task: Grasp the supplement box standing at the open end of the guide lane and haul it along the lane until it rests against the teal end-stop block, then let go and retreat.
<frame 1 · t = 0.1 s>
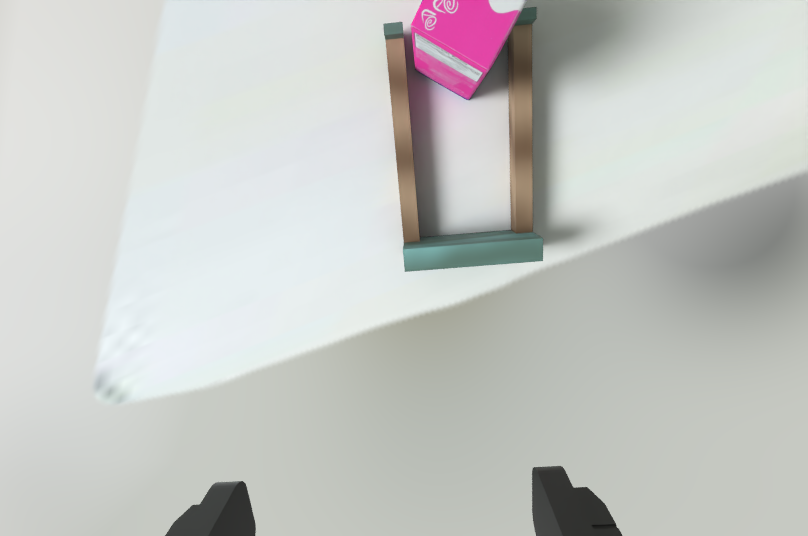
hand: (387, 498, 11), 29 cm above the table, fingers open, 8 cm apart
guide lane: (461, 149, 36), on the table
supplement box: (456, 55, 34), on the table
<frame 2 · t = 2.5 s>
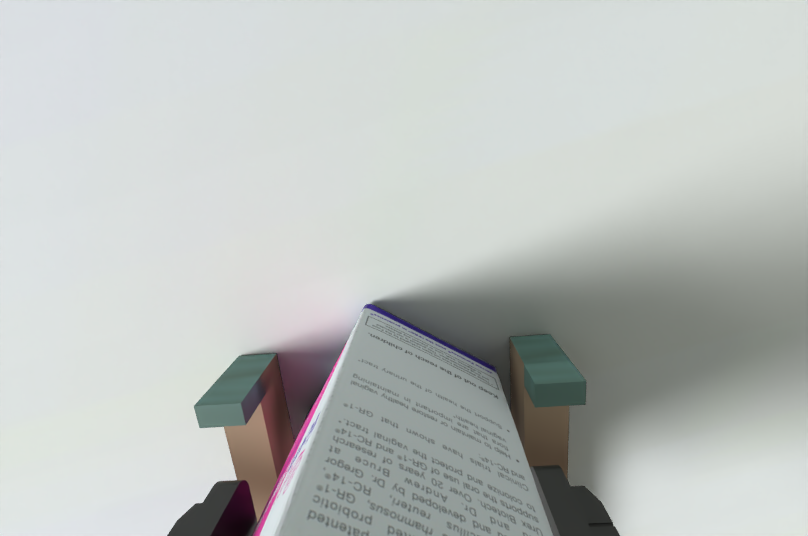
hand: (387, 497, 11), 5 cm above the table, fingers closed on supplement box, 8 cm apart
supplement box: (396, 387, 16), on the table, touching gripper
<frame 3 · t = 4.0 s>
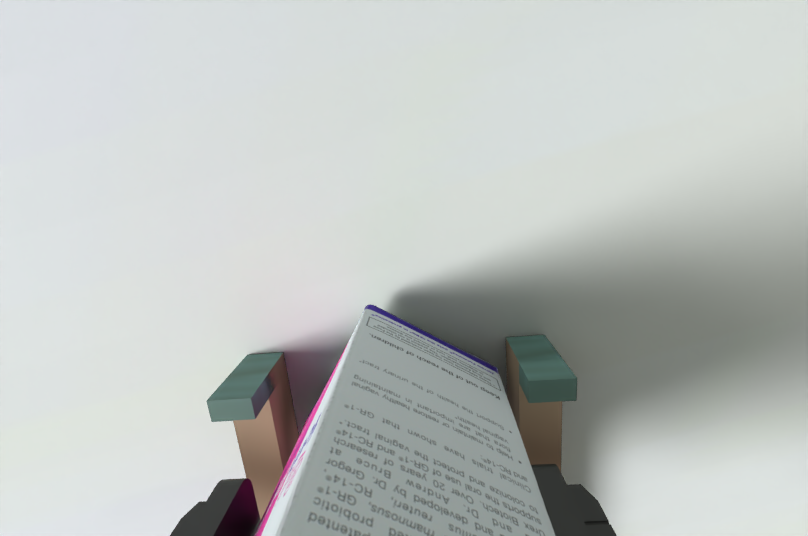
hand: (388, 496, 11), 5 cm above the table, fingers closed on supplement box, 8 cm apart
supplement box: (397, 388, 15), on the table, touching gripper
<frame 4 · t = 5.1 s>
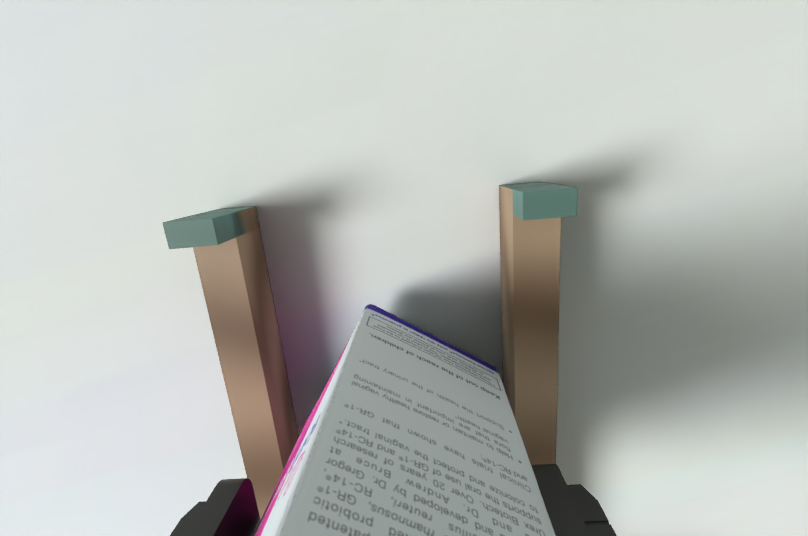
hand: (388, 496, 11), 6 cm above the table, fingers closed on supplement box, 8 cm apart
guide lane: (399, 428, 17), on the table
supplement box: (397, 388, 15), point 1 cm above the table, touching gripper
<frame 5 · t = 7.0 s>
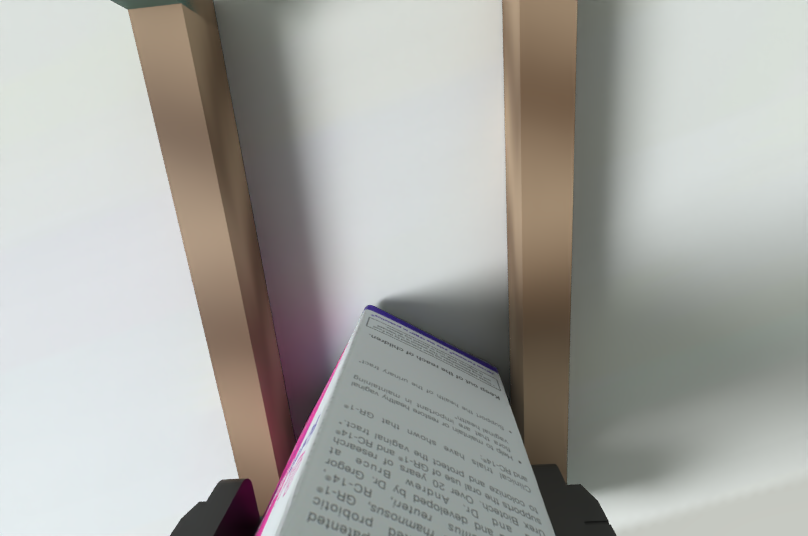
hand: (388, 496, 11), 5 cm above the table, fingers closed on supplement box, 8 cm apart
guide lane: (386, 291, 14), on the table
supplement box: (397, 388, 15), on the table, touching gripper
when the fingers open (5 cm above the table, at t = 7.8 s): supplement box stays where it is, on the table.
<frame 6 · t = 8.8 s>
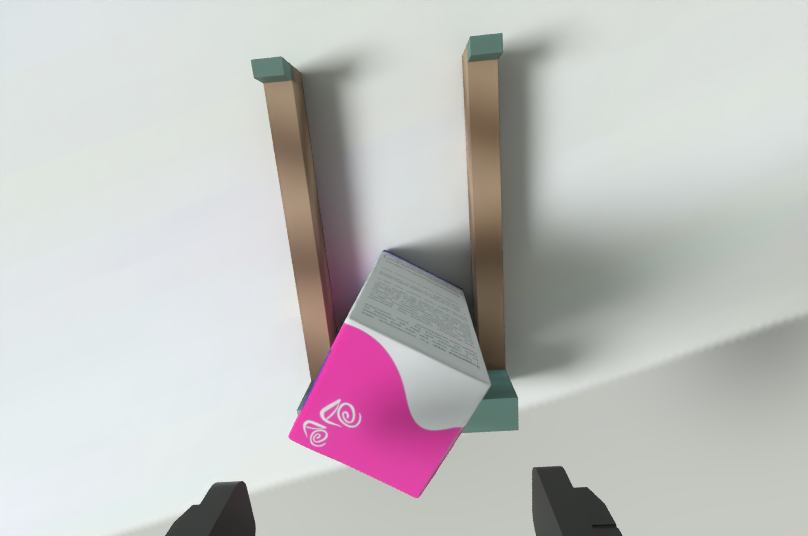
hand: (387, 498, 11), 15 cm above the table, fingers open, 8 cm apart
guide lane: (396, 242, 24), on the table
supplement box: (402, 305, 25), on the table
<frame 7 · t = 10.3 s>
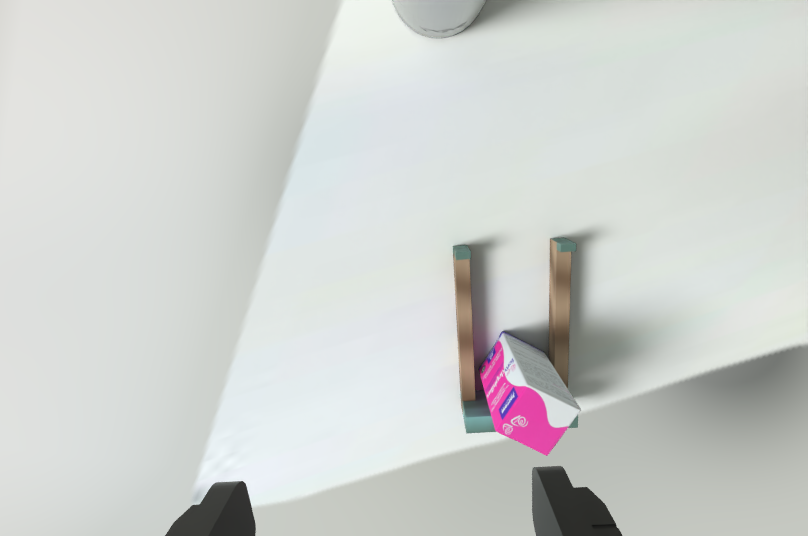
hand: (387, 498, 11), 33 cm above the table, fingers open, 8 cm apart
guide lane: (509, 327, 44), on the table
supplement box: (509, 359, 46), on the table
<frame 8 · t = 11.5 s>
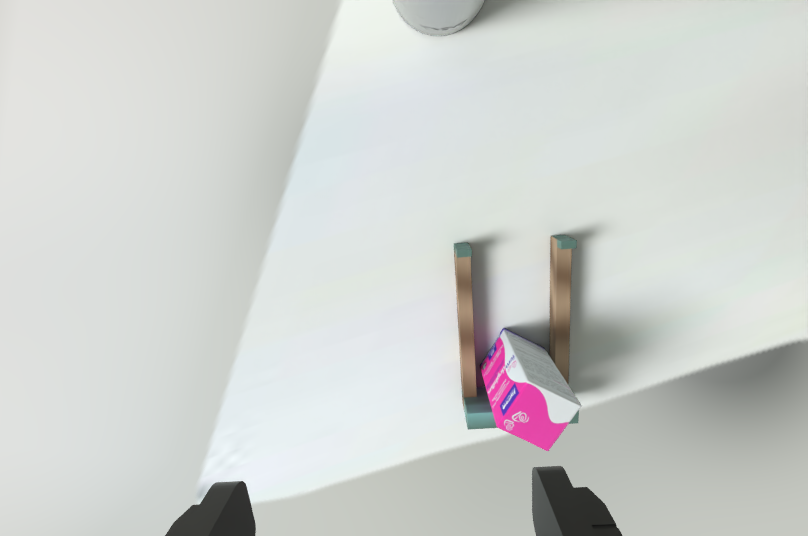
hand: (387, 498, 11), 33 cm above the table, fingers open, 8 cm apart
guide lane: (510, 324, 45), on the table
supplement box: (510, 355, 46), on the table
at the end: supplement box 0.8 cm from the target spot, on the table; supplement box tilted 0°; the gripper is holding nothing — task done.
